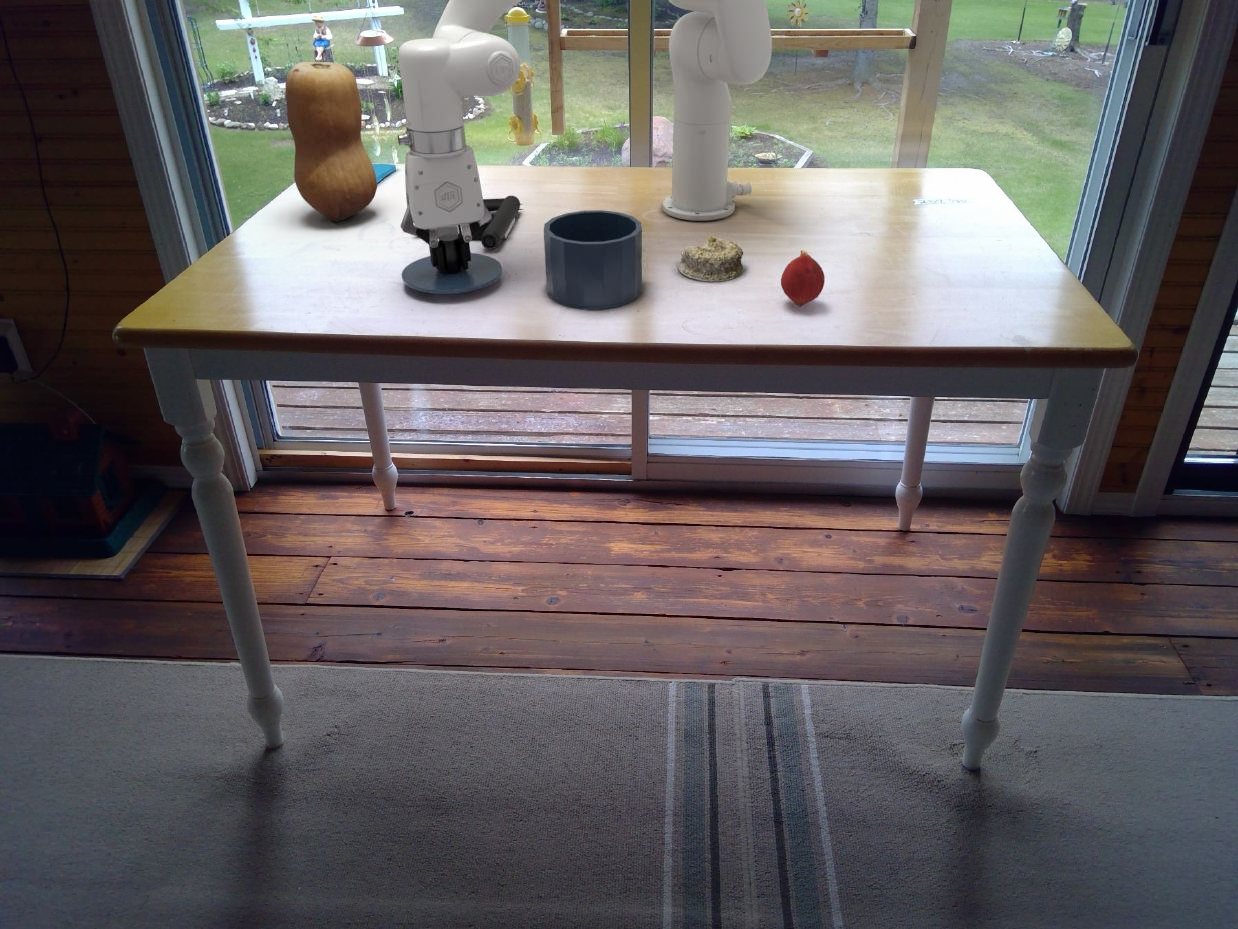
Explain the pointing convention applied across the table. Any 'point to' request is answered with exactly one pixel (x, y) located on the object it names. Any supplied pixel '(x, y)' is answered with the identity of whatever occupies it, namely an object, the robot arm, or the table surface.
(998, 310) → the table surface
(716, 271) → the cake
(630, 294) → the pot
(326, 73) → the butternut squash
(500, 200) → the door handle
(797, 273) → the onion
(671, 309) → the table surface
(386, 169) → the sponge
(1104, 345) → the table surface
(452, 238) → the pot lid
